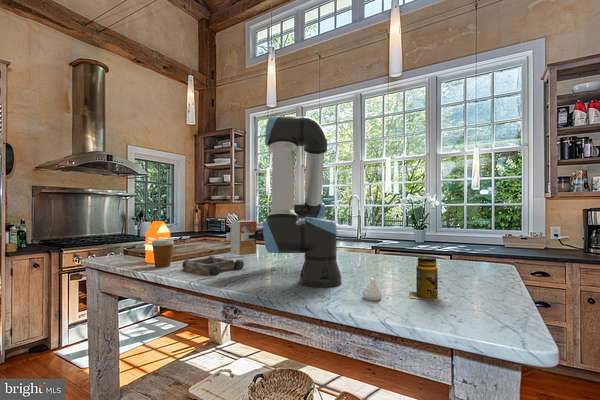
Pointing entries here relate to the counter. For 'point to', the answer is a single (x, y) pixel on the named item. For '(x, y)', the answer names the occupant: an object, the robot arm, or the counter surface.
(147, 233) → the orange juice
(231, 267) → the dark square tray
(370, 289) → the garlic bulb
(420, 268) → the condiment
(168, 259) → the disposable coffee cup
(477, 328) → the counter surface
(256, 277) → the counter surface
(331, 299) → the counter surface
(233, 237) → the small box
